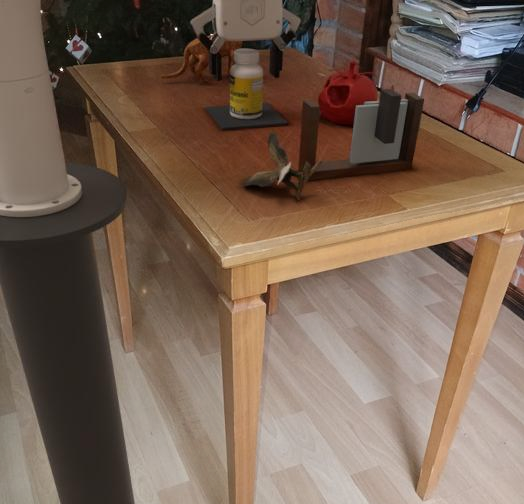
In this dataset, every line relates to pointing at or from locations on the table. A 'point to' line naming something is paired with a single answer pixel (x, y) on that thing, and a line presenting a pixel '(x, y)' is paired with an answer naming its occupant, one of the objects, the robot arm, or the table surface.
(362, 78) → the pomegranate
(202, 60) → the cat figurine
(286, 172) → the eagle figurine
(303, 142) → the dark brown u-shaped frame
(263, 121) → the rubber mat
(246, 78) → the supplement bottle
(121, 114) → the table surface
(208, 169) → the table surface
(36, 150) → the robot arm
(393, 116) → the sliding panel with handle
